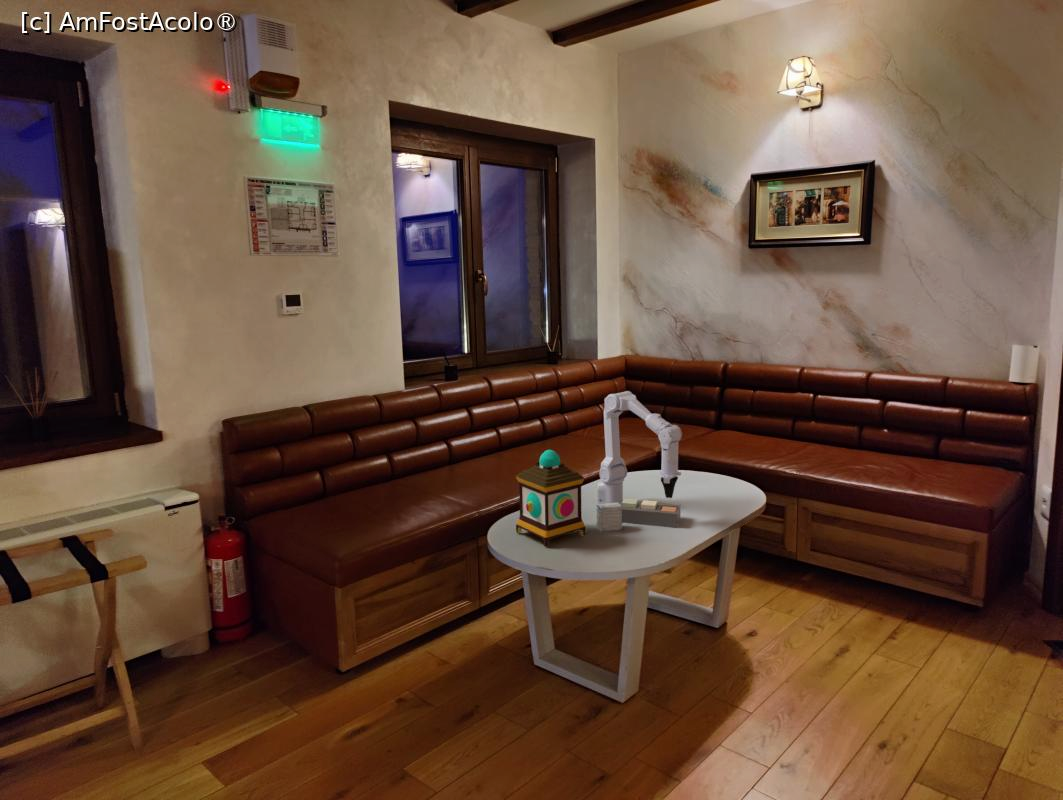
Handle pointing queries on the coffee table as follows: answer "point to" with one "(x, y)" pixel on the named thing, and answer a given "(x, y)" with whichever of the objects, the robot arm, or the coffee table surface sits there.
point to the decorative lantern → (550, 499)
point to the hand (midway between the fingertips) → (669, 497)
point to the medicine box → (609, 516)
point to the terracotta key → (669, 509)
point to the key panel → (652, 515)
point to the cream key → (649, 505)
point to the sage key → (630, 503)
